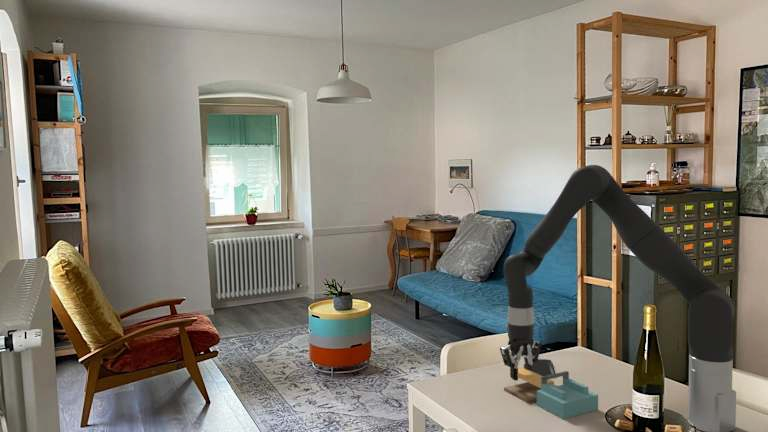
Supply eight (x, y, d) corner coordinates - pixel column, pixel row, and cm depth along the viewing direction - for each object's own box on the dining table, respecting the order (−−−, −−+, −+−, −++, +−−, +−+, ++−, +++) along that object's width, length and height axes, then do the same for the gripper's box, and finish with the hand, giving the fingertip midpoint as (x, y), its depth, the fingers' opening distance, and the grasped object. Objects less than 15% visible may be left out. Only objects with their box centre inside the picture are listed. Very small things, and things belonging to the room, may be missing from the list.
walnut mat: (568, 393, 166) (568, 391, 166) (528, 403, 160) (528, 400, 160) (542, 381, 176) (542, 379, 176) (503, 390, 170) (503, 387, 169)
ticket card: (554, 385, 164) (553, 381, 164) (541, 388, 162) (540, 384, 162) (523, 371, 176) (523, 367, 176) (511, 374, 174) (511, 370, 174)
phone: (550, 359, 193) (555, 375, 179) (551, 362, 193) (555, 378, 179) (526, 358, 195) (528, 374, 180) (526, 362, 195) (528, 377, 180)
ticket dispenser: (598, 409, 154) (598, 381, 154) (563, 418, 149) (562, 389, 149) (570, 396, 163) (570, 370, 163) (536, 405, 158) (536, 377, 158)
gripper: (509, 327, 166) (509, 386, 167) (548, 320, 172) (548, 378, 173) (493, 321, 172) (493, 378, 174) (531, 315, 178) (531, 370, 180)
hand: (521, 378), depth 173 cm, fingers closed on ticket card, 4 cm apart
